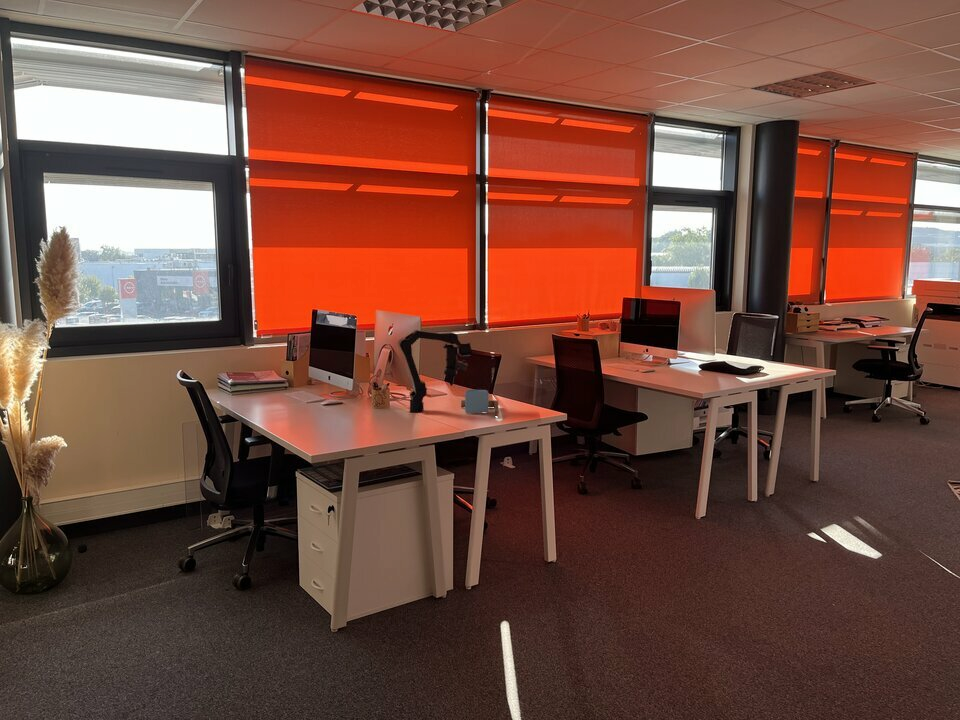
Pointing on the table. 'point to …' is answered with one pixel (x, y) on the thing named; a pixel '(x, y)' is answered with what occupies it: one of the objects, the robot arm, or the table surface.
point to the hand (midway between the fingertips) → (451, 385)
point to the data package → (476, 401)
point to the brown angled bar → (490, 404)
